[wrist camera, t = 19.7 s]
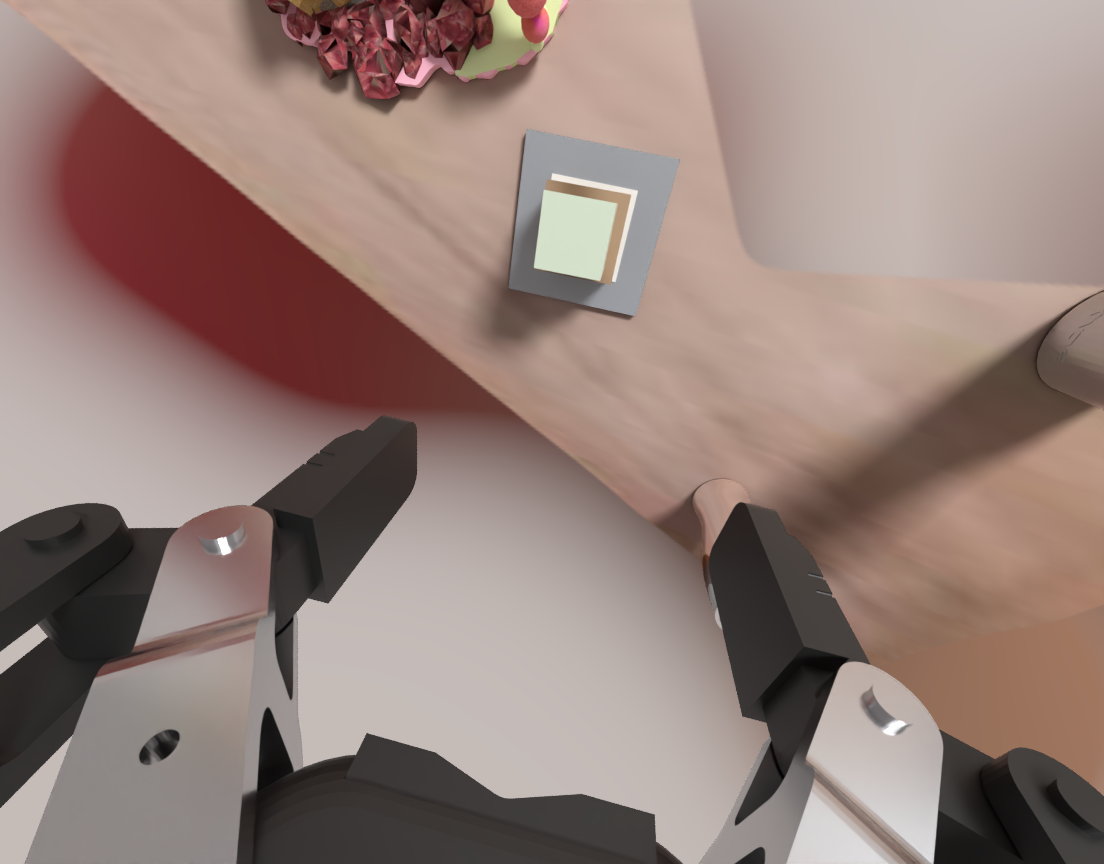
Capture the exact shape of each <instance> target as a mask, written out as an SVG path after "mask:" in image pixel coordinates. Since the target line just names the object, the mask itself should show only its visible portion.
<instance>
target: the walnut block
mask: <svg viewBox="0 0 1104 864" xmlns="http://www.w3.org/2000/svg"><path fill="white" fill-rule="evenodd" d="M545 190H548V191H553V192H559V193H564V194H569V195H575V196H580V197H585V198H591V199H596V200H601V201H607V202H612V203H617V204H618V205H617V210H616V215H615V219H614V224H613V229H612V233H611V238H610V243H609V247H608V252H607V257H606V261H605V266H604V271H603V274H602V277H601V280H600V281H597V280H592V279H587V278H582V277H577V276H572V275H567V274H562V273H557V272H552V271H547V270H542V269H537V268H535V270H539V271H544V272H549V273H554V274H559V275H564V276H569V277H574V278H579V279H584V280H589V281H595V282H600V283H605V284H610V285H611V282H612V278H613V274H614V269H615V265H616V260H617V256H618V252H619V247H620V243H621V238H622V234H623V229H624V225H625V221H626V216H627V212H628V207H629V203H630V199H631V195H630V194H625V193H620V192H614V191H609V190H603V189H598V188H593V187H587V186H582V185H576V184H571V183H566V182H560V181H555V180H549V179H547V180H546V188H545Z"/></svg>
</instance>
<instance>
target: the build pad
mask: <svg viewBox="0 0 1104 864" xmlns="http://www.w3.org/2000/svg"><path fill="white" fill-rule="evenodd" d="M679 161H680V159H676V158H671V157H666V156H660V155H655V154H650V153H645V152H640V151H635V150H630V149H625V148H620V147H615V146H610V145H605V144H600V143H595V142H590V141H585V140H580V139H575V138H570V137H565V136H560V135H555V134H550V133H545V132H540V131H535V130H530V129H527V130H526V138H525V147H524V156H523V165H522V173H521V182H520V191H519V200H518V208H517V217H516V226H515V235H514V243H513V252H512V261H511V270H510V278H509V287H508V288H509V289H514V290H518V291H523V292H527V293H532V294H536V295H541V296H545V297H550V298H554V299H559V300H564V301H568V302H573V303H577V304H582V305H586V306H591V307H595V308H600V309H604V310H609V311H614V312H618V313H623V314H627V315H632V316H636V312H637V309H638V305H639V302H640V298H641V295H642V291H643V287H644V284H645V280H646V277H647V273H648V270H649V266H650V263H651V259H652V256H653V252H654V249H655V245H656V242H657V238H658V235H659V231H660V228H661V224H662V220H663V217H664V213H665V210H666V206H667V203H668V199H669V196H670V192H671V189H672V185H673V182H674V178H675V175H676V171H677V168H678V164H679ZM547 179H549V180H555V181H560V182H566V183H571V184H576V185H582V186H587V187H593V188H598V189H603V190H609V191H614V192H620V193H625V194H630V195H631V199H630V203H629V207H628V212H627V216H626V221H625V225H624V229H623V234H622V238H621V243H620V247H619V252H618V256H617V260H616V265H615V269H614V274H613V278H612V282H611V285H610V284H605V283H600V282H595V281H589V280H584V279H579V278H574V277H569V276H564V275H559V274H554V273H549V272H544V271H539V270H535V268H534V262H535V255H536V247H537V239H538V231H539V223H540V216H541V208H542V200H543V192H544V190H545V188H546V180H547Z"/></svg>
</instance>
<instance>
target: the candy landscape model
mask: <svg viewBox="0 0 1104 864" xmlns="http://www.w3.org/2000/svg"><path fill="white" fill-rule="evenodd" d="M265 1H266V4H267V6H268V7H269V8H270V10H271V11H272V12H275V13H279V14H280V16H281V20H282V27H283V30H284V31H285V33H286V34H287V36H288V37H290V38H291V39H293V40H295V41H296V42H297V43H299V44H300V45H301V46H302V47H303V44H305V45H308V46H310V45H311V46H315V47H318V55H317V58H318V60H319V62H320V64H321V65H322V67H323V69H324V71H325V73H326V74H327V76H328V78H329V80H331V79H332V78H334V77H335V76H337V75H338V74H340V73H341V72H343V71H344V70H346V69H347V68H348V65H347V51H349V52H351V53H352V59H353V60H352V64H353V67H354V69H355V72H356V74H357V77H358V80H359V82H360V85H361V87H362V90H363V92H364V95H365V97H366V98H380V99H389V98H392V97H394V96H397V95H400V94H401V93H400V87H399V85H400V86H408V87H417V88H421V87H422V86H423V85H424V84H425V83H426V82H427V80H428V79H429V78H430V76H431V75H432V74H433V73H434V72H435V71H436V70H437V69H438V68H440V67H442V68H443V69H444V70H445V71H446V72H447V73H448V74H451V75H452V74H455V75H456V77H457V78H460V79H461V80H462V81H463V82H468V81H470V80H472V79H475V78H486V79H492V78H493V77H494V76H495V75H496V74H497V73H498V72H499V71H503V70H506V69H507V70H509V69H512V68H513V67H515V66H516V65H517V64H519V65H525V64H527V63H528V62H529V61H530V60H531V59H532V58H533V57H534V56H535V55H536V54H537V53H538V52H539V51H541V50H542V48H543V46H544V45H545V44H546V43H547V42H548V41H549V40H550V39H551V37H552V36H553V35H554V32H555V29H556V25H557V22H558V18H559V16H560V15H561V13H562V12H563V11H564V10H565V9H566V7H567V6H568V4H569V0H265Z"/></svg>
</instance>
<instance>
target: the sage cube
mask: <svg viewBox="0 0 1104 864" xmlns="http://www.w3.org/2000/svg"><path fill="white" fill-rule="evenodd" d="M617 205H618V204H617V203H612V202H607V201H601V200H596V199H591V198H585V197H580V196H575V195H569V194H564V193H559V192H553V191H548V190H544V192H543V200H542V208H541V216H540V223H539V231H538V239H537V247H536V255H535V262H534V268H537V269H542V270H547V271H552V272H557V273H562V274H567V275H572V276H577V277H582V278H587V279H592V280H597V281H600V280H601V277H602V274H603V271H604V266H605V261H606V257H607V252H608V247H609V243H610V238H611V233H612V229H613V224H614V219H615V215H616V210H617Z"/></svg>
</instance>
